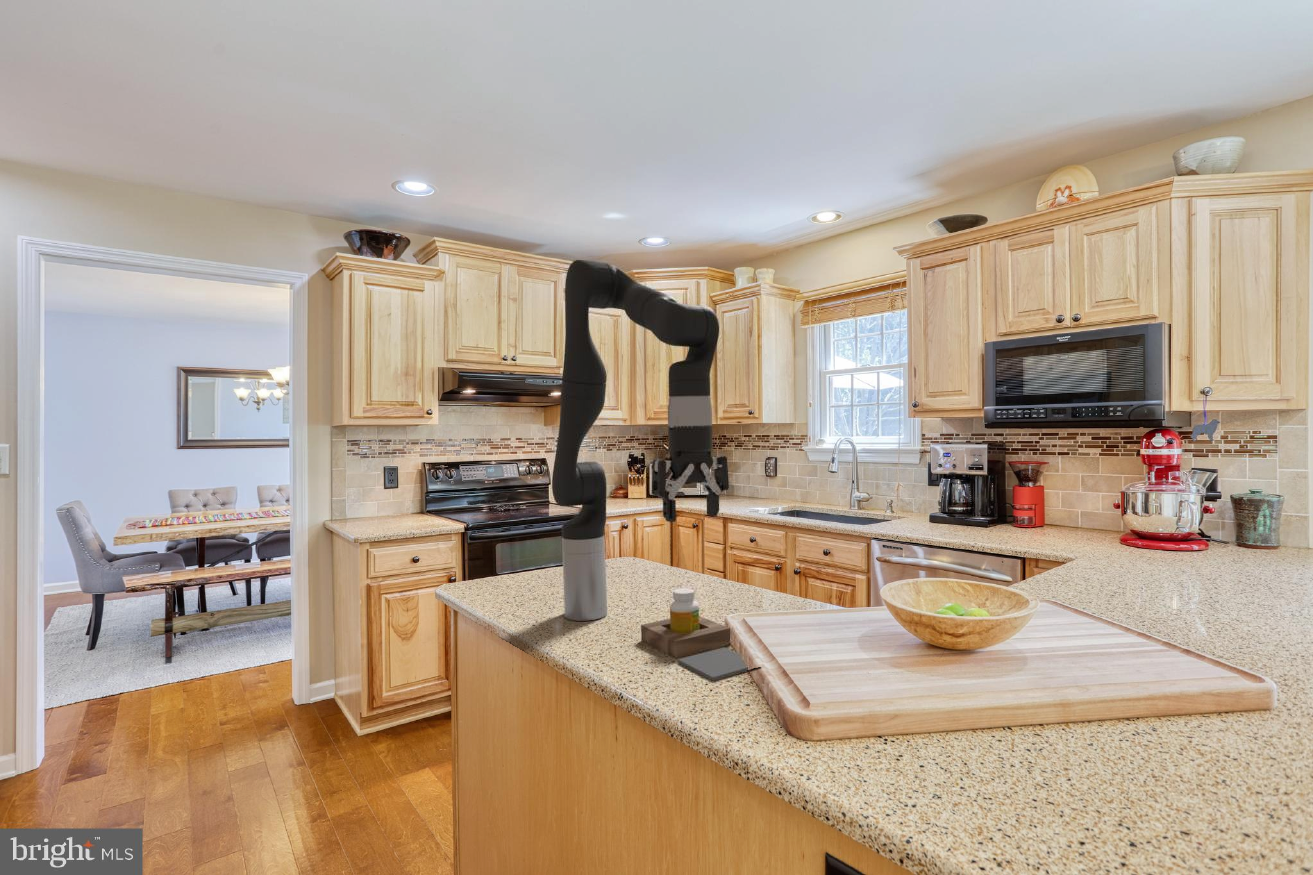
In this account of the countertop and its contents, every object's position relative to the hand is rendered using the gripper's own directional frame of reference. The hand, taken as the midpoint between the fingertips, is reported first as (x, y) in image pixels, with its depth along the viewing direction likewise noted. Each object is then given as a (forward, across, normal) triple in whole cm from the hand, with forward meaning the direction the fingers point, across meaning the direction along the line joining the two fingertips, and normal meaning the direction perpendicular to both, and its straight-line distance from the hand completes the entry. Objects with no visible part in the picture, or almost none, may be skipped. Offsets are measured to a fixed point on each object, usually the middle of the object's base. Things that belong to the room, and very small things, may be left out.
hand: (691, 518), depth 112 cm
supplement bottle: (+25, -4, -9) cm, 27 cm away
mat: (+24, -2, +4) cm, 25 cm away
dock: (+25, -4, -9) cm, 27 cm away
